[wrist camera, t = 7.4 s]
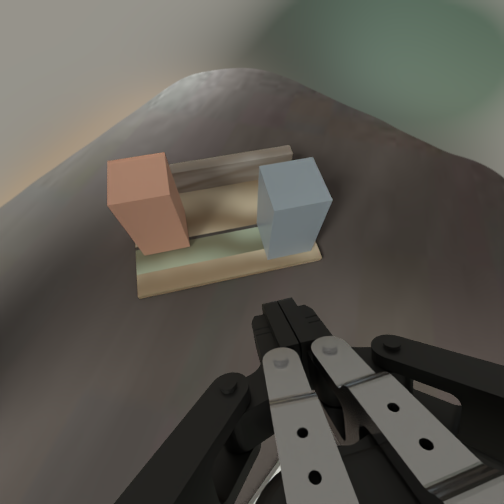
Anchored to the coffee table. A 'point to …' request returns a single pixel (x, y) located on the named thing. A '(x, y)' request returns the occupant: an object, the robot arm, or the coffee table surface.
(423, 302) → the coffee table surface
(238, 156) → the wooden tray
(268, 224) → the grey blue rectangular block
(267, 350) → the robot arm
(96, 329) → the coffee table surface
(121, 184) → the reddish brown block
